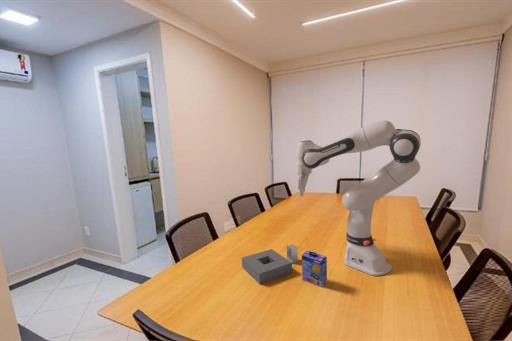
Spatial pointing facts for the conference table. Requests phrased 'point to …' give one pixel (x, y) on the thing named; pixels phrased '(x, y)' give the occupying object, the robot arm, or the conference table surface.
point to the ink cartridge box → (314, 268)
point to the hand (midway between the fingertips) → (302, 193)
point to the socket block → (266, 266)
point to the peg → (292, 253)
